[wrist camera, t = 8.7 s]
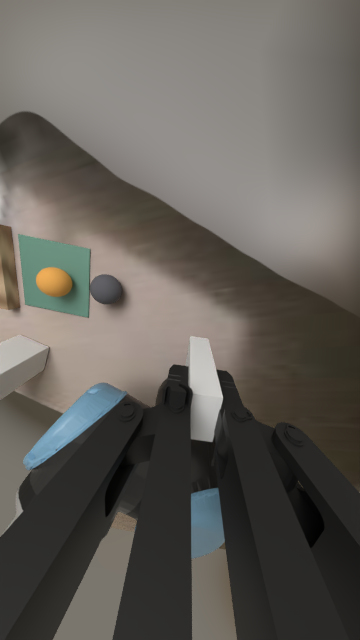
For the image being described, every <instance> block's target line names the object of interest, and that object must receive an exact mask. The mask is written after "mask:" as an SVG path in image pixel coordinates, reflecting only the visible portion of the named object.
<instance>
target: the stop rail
mask: <svg viewBox="0 0 360 640" xmlns="http://www.w3.org/2000/svg"><path fill="white" fill-rule="evenodd" d="M18 307H20V303H19V294H18V286H17V277H16V268H15V259H14V250H13V242H12V233H11V227H9V226H4V225H0V308H1V309H6V310H10V309H14V308H18Z"/></svg>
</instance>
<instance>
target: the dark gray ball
mask: <svg viewBox="0 0 360 640" xmlns="http://www.w3.org/2000/svg"><path fill="white" fill-rule="evenodd" d="M90 292H91V295H92V296H93V298H94V299H95V300H96V301H98V302H100V303H102V304H112V303H114V302H116V301H117V300H118V299H119V298H120V296H121V294H122V287H121V284H120V282H119V281H118V280H117V279H116V278H115V277H113V276H111V275H99V276H97V277H95V278H94V279H93V281H92V282H91V285H90Z"/></svg>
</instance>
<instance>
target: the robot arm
mask: <svg viewBox="0 0 360 640" xmlns="http://www.w3.org/2000/svg"><path fill="white" fill-rule="evenodd" d="M23 463H24V465H25V466H26V469H27V470H31V469H32V471H31V472H30V473H29V475H28V476H27V477H26V479H25V480H24V481H23V483H22V484H21V486H20V487H19V489H18V491H17V494H16V516H15V517H14V519H13V520H12V522H11V523H10V524H9V526H8V527H7V529H6V530H5V532H4V533H3V534H2V536H1V537H0V640H52V639H53V638H54V636H55V634H56V632H57V629H58V627H59V625H60V623H61V621H62V619H63V617H64V615H65V613H66V611H67V609H68V607H69V605H70V603H71V601H72V599H73V597H74V595H75V593H76V591H77V589H78V586H79V585H80V583H81V581H82V579H83V576H84V574H85V572H86V570H87V568H88V566H89V564H90V562H91V560H92V558H93V556H94V554H95V552H96V550H97V548H98V546H99V544H100V543H101V542H102V541H103V540H104V538H105V537H106V535H107V533H108V531H109V529H110V527H111V525H112V522H113V520H114V518H115V516H116V514H117V513H118V512H121V513H124V514H126V515H128V516H130V517H132V518H134V519H136V520H137V524H136V527H135V534H134V539H133V544H132V548H131V554H130V558H129V563H128V568H127V573H126V577H125V582H124V587H123V592H122V597H121V602H120V606H119V611H118V616H117V621H116V626H115V630H114V635H113V640H192V585H191V584H192V574H191V559H192V558H197V557H201V556H204V555H207V554H209V553H211V552H213V551H214V550H216V549H218V548H219V547H220V546H221V545H222V544H223V543H224V541H225V546H226V554H227V562H228V570H229V578H230V586H231V594H232V602H233V610H234V617H235V626H236V633H237V640H360V493H359V492H358V491H357V490H356V489H355V487H354V486H353V485H352V484H351V483H350V482H349V481H348V480H347V479H346V478H345V477H344V475H343V474H342V473H341V472H340V471H339V470H338V469H337V468H336V467H335V466H334V465H333V463H332V462H331V461H330V460H329V459H328V458H327V457H326V456H325V455H324V454H323V453H322V451H321V450H320V449H319V448H318V447H317V446H316V445H315V444H314V443H313V442H312V441H311V439H310V438H309V437H308V436H307V435H306V434H305V433H304V432H302V431H301V430H300V429H298V428H297V427H295V426H293V425H291V424H288V423H282V422H281V423H278V424H277V425H276V427H275V429H274V428H272V427H270V426H267V425H265V424H262V423H260V422H258V421H256V420H255V418H254V416H253V415H252V413H251V412H250V411H249V410H248V409H247V408H245V407H244V406H243V404H242V401H241V399H240V396H239V393H238V391H237V389H236V386H235V384H234V380H233V378H232V376H231V375H230V374H229V373H228V372H227V371H222V370H216V368H215V364H214V360H213V356H212V352H211V348H210V344H209V340H208V338H200V337H193V336H190V340H189V347H188V353H187V360H186V366H181V365H173V366H172V367H171V368H170V370H169V375H168V378H167V379H166V380H165V381H164V382H163V383H162V384H161V386H160V388H159V390H158V394H157V398H156V406H154V407H151V408H150V407H149V406H147V405H145V404H144V403H142V402H140V401H138V400H137V399H135V398H133V397H132V396H130V395H128V394H127V392H126V391H121V390H119V389H117V388H115V387H114V386H112V385H110V384H108V383H98V384H96V385H94V386H92V387H91V388H90V389H89V390H87V391H86V392H85V393H84V394H83V395H82V396H81V397H80V398H79V399H78V400H77V401H76V402H75V403H74V404H73V405H72V406H71V407H70V408H69V409H68V410H67V411H66V412H65V413H64V414H63V415H62V416H61V417H60V418H59V419H58V420H57V421H56V422H55V423H54V424H53V425H52V426H51V428H50V429H49V430H48V431H47V432H46V433H45V434H44V435H43V436H42V437H41V439H40V440H39V441H38V442H37V443H36V444H35V446H34V447H33V448H32V450H31V451H30V452H29V453H28V454H27V455H26V457H25V458H24V461H23ZM298 480H299V482H300V483H301V485H302V486H303V488H302V487H301V485H300V484H299V483H298Z"/></svg>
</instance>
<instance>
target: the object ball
mask: <svg viewBox="0 0 360 640" xmlns="http://www.w3.org/2000/svg"><path fill="white" fill-rule="evenodd" d="M36 284H37V286H38V288H39V289H40V290H41V291H42V292H43V293H45V294H46V295H49V296H52V297H61V296H64V295H66V294H68V293H69V292H70V290H71V288H72V280H71V277H70V276H69V275H68V274H67V273H66V272H65V271H64V270H62V269H59V268H55V267H48V268H45V269H42V270H41V271H40V272H39V273H38V274H37V276H36Z"/></svg>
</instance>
